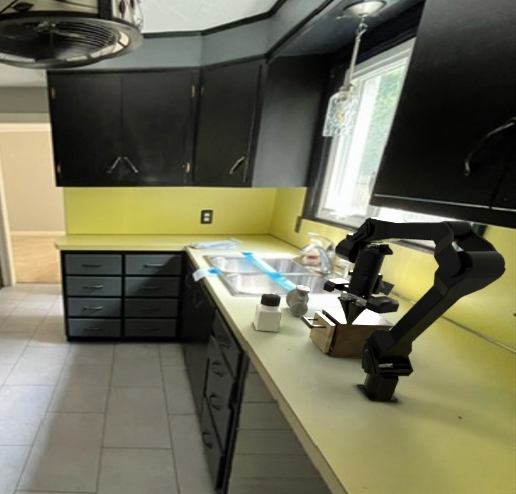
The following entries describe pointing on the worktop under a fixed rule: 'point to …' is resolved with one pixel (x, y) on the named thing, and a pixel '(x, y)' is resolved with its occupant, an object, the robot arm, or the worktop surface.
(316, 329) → the drawer
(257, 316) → the medicine bottle
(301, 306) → the pipe fitting
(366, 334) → the cabinet
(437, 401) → the worktop surface
